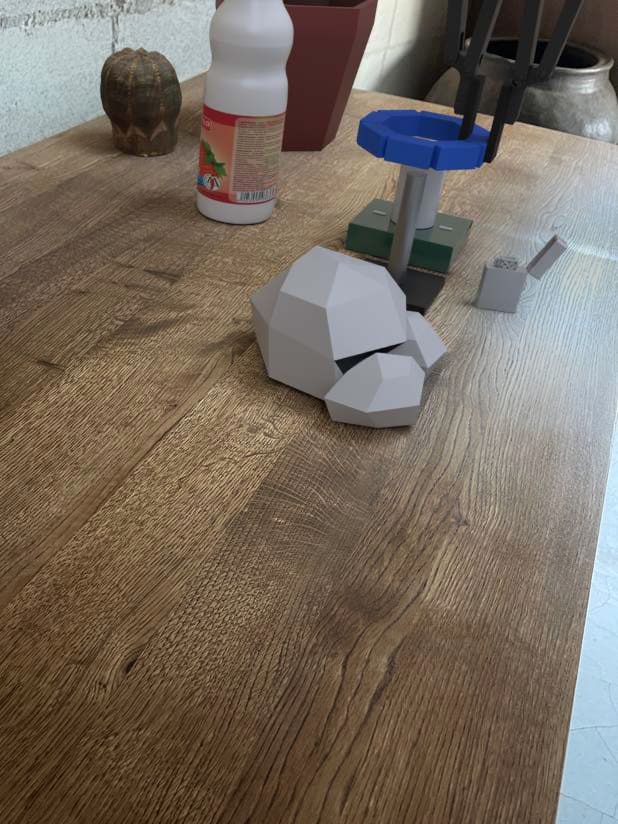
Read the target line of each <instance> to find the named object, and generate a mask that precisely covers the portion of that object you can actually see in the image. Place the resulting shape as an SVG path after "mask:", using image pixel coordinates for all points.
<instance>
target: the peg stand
mask: <svg viewBox="0 0 618 824" xmlns="http://www.w3.org/2000/svg"><path fill="white" fill-rule="evenodd" d="M427 176H428V175H427V174H426V173H424V172H422V171H416V170H411V171H408V172H407V175H406V180H405V185H404V190H403V194H402V199H401V204H400V209H399V214H398V218H397V223H396V228H395V233H394V238H393V242H392V247H391V252H390V257H389V259H388V262H385V261H381V260H377V259H374V258H369V257H365V258H364V259H362V260H363V261H366V262H370V263H373V264H376V265H379V266H382V267H385V269H386V270H387V271H388V273H389V274H390V275H391V277H392V278H393V279H394V281H395V282H396V283H397V285H398V286H399V287H400V289H401V290H402V291H403V293H404V294H405V296H406V311H412V312H418V313H420V314H421V315H422V316H423V317H424V316H425V315H426V314H427V312H428V311H429V310H430V308H431V306H432V305H433V303H434V301H435V300H436V299H437V297H438V296H439V294H440V293H441V292H442V290H443V289H444V287H445V284H446V279H447V277H446V276H443V275H438V274H435V273H430V272H426V271H423V270H418V269H414V268H410V267H408V266H409V264H408V262H409V257H410V253H411V248H412V244H413V239H414V235H415V230H416V226H417V221H418V217H419V212H420V208H421V203H422V199H423V194H424V190H425V185H426V181H427Z"/></svg>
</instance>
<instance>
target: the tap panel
mask: <svg viewBox="0 0 618 824" xmlns="http://www.w3.org/2000/svg"><path fill="white" fill-rule="evenodd" d="M393 202H394V201H391V200H387V199H382V198H378V197H374V198H373V199H372V200H371V201H370V202H369V203H367V205H365V207H363V208H362V209H361V210H360V211H359V212H358V213H357V214H356V215H355V216H354V217H353V218H352V219H351V220H350V221H349V222H348V226H347V231H346V237H345V242H344V249H346V250H350V251H354V252H358V253H361V254H366V255H370V256H375V257H379V258H382V259H385V260H389V257H390V252H391V247H392V242H393V238H394V233H395V228H396V223H395V222H393V221H392V220H391V212H392V207H393ZM473 222H474V220H473V219H470V218H465V217H461V216H457V215H452V214H447V213H443V212H439V211H437V215H436V219H435V223H434V225H433V226H432V227H430V228H426V229H416V230H415V235H414V239H413V244H412V248H411V253H410V257H409V262H408V265H411V266H415V267H419V268H422V269H427V270H430V271H435V272H439V273H444V274H448V273H449V271H450V270H451V268H452V267H453V266H454V264H455V263H456V261H457V260H458V258H459V257H460V256H461V254H462V253H463V251H464V250H465V248H466V247H467V246H468V241H469V238H470V234H471V230H472V227H473Z"/></svg>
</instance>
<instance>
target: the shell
mask: <svg viewBox="0 0 618 824" xmlns="http://www.w3.org/2000/svg"><path fill="white" fill-rule="evenodd" d="M99 95H100V96H99V97H100V101H101V106H102V109H103V111H104V113H105V115H106V116H107V118H108V119H109V121H110V124H111V132H112V139H113V142H114V144H115V146H116V147H117V148H118V149H119V150H121V151H122V152H123V153H127V154H131V155H135V156H140V157H144V158H148V157H153V156H162V155H163V156H164V155H167V154H168V153H170V152H172V151H173V150H174V148H175V147H176V146H177V144H178V140H179V139H178V137H179V128H180V127H179V126H180V114H181V109H182V103H183V94H182V89H181V83H180V80H179V78H178V75H177V71H176V69H175V68H174V65H173V64H172V63H171V61H170V60H169V59H168V58H167V57H166V56H165V55H164V54H162V53H160V52H159V51H157V50H150V51H148V50H147V49H145V48H144V47H143V46H141V47H139V48H138V49H133V48H132V47H129V46H125V47H123V48H122V49H121V50H118V51H117V50H116V51H115V52H113V53H111V54H110V55H108V57H106V59H105V60H104V63H103V65H102V68H101V71H100V83H99Z"/></svg>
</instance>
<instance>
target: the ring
mask: <svg viewBox="0 0 618 824" xmlns="http://www.w3.org/2000/svg"><path fill="white" fill-rule="evenodd" d="M462 120H463V117H459V116H454V115H449V114H443V113H438V112H433V111H430V110H429V111H428V110H423V109H421V110H420V111H418V110H416V109H377V111H376V110H372V111H371V112H369V113H367V114H366V115H365V116H364V117H362V118H360V120H359V123H358V128H357V134H356V140H355V142H356V145H357V146H359V147H360V148H362V149H363V150H365V151H366V152H368V153H369V154H371V155H372V156H374V157H375V158H377V159H383V161H384V162H389V163H393V164H398V165H401V164H402V165H407V166H412V167H416V168H421V169H426V170H428V169H429V168H430V167H431V168H432V169H434V170H435V171H446V170H447V171H467V170H468V171H469V170H476V168H478V169H481V167H482V166H483V164H485V162H483V159H484V155H485V151H486V147H487V142H488V138H489V134H490V130H488V129H486V128H484V127H483V126H481V125H478V124H477V123H475V124H474V129H473V133H472V134H471V135H470V136H469V137H468V138H467V139H466V140H458V136H459V132H460V128H461V124H462ZM411 136H417V137H422V138H427V139H431V140H436V141H430V140H426V139H421V138H416V137H411Z"/></svg>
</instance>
